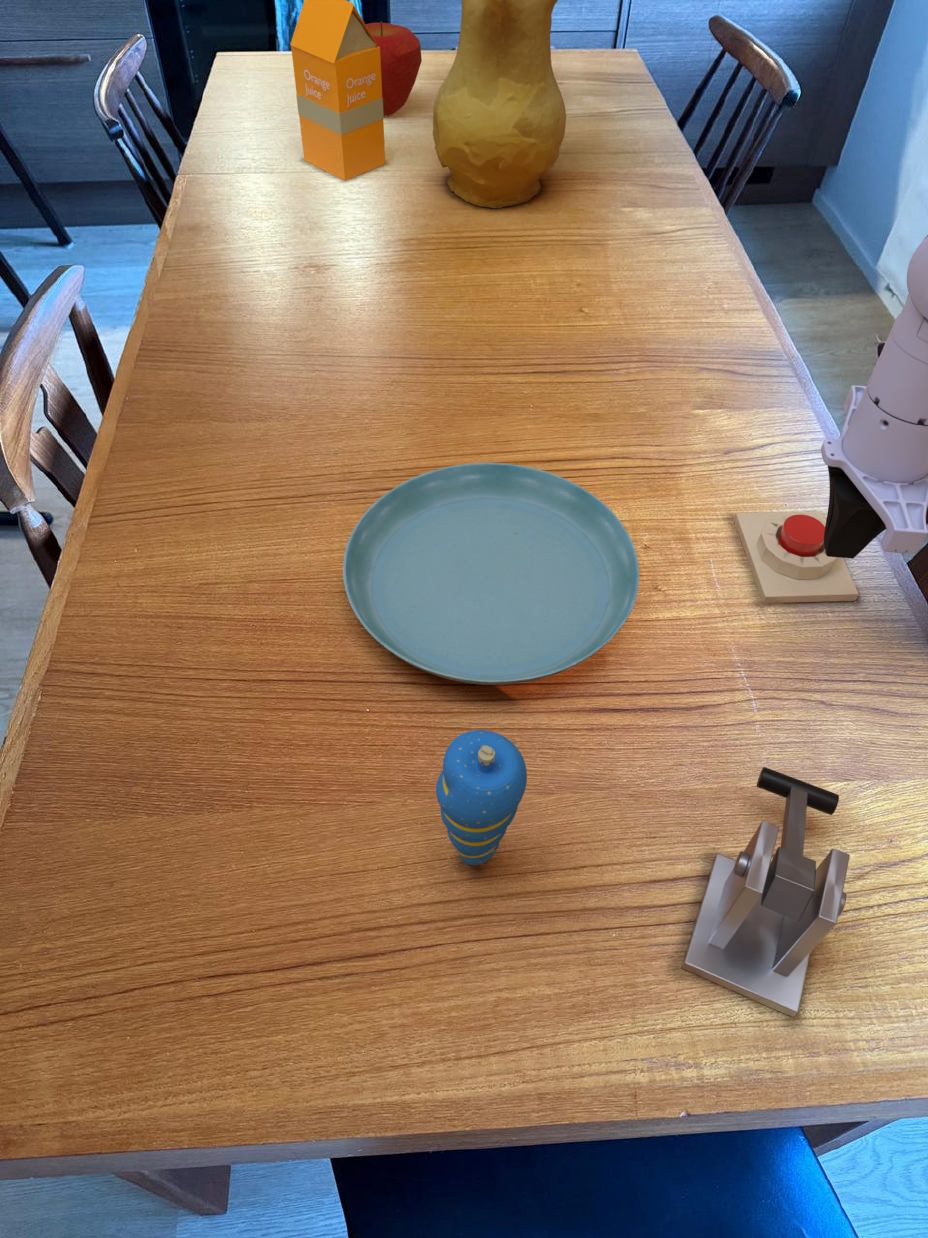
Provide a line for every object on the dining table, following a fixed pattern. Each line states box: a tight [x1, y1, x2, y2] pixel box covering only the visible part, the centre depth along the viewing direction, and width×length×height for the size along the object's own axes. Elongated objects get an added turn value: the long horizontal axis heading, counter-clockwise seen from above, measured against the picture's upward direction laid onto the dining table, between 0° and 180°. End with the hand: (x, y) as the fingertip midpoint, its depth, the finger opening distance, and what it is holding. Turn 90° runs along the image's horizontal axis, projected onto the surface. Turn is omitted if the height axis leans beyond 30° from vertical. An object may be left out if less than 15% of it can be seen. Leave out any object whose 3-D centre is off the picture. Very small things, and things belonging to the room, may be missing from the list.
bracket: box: [681, 820, 851, 1018], centre depth 54 cm, size 8×7×10 cm
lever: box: [756, 766, 840, 921], centre depth 55 cm, size 12×5×2 cm, turn 156°
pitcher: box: [432, 0, 567, 209], centre depth 113 cm, size 17×19×25 cm
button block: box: [733, 510, 860, 604], centre depth 77 cm, size 10×8×2 cm
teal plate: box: [342, 462, 640, 686], centre depth 74 cm, size 24×24×3 cm
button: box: [779, 514, 825, 557], centre depth 76 cm, size 4×4×2 cm
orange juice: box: [289, 0, 386, 182], centre depth 118 cm, size 8×9×20 cm
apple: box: [365, 20, 423, 117], centre depth 132 cm, size 11×11×12 cm
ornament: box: [435, 729, 528, 866], centre depth 54 cm, size 5×5×15 cm
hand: (838, 550), depth 65 cm, fingers closed
